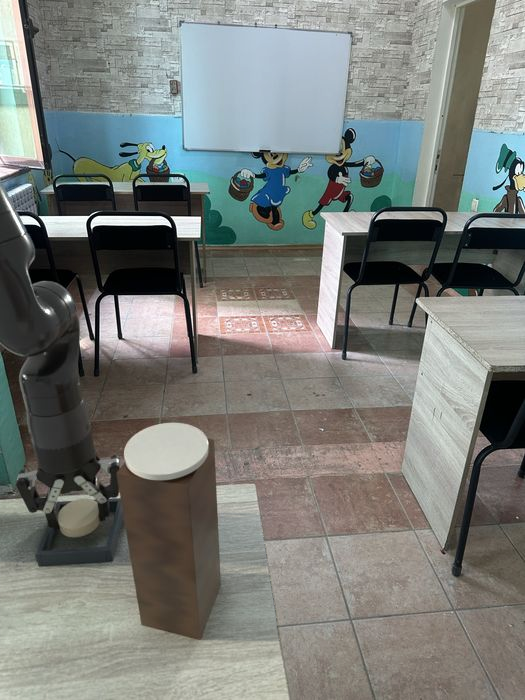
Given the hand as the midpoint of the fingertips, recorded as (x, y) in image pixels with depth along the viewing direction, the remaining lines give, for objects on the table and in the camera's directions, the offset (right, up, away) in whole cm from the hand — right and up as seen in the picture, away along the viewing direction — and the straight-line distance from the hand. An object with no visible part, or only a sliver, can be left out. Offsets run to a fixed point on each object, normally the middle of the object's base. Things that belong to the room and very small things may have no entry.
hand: (80, 521), depth 72 cm
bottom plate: (+17, +14, -20) cm, 30 cm away
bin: (0, -4, +2) cm, 4 cm away
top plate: (0, -1, 0) cm, 1 cm away
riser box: (+17, -9, -8) cm, 21 cm away
